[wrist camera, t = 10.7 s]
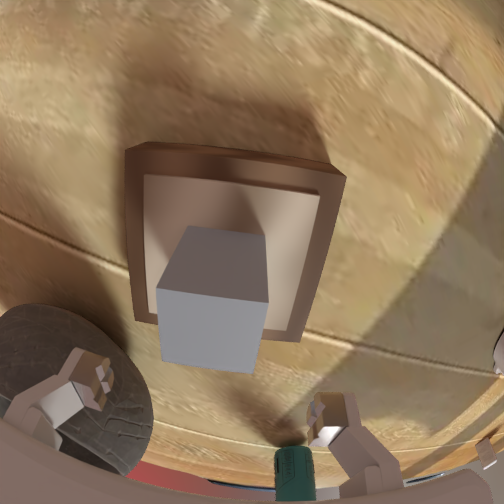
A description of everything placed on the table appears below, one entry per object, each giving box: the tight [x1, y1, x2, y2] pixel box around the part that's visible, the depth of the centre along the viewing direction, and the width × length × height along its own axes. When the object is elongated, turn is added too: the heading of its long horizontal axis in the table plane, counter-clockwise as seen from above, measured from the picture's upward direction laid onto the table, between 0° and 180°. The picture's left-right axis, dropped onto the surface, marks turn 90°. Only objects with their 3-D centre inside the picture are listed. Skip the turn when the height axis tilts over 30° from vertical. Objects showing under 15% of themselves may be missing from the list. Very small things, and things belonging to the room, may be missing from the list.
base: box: [125, 142, 347, 343], centre depth 22 cm, size 14×14×4 cm
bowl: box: [0, 304, 154, 476], centre depth 24 cm, size 21×21×15 cm
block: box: [156, 226, 269, 374], centre depth 17 cm, size 5×5×7 cm
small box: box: [475, 437, 497, 469], centre depth 53 cm, size 8×6×10 cm
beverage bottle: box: [274, 446, 316, 502], centre depth 33 cm, size 6×7×20 cm
